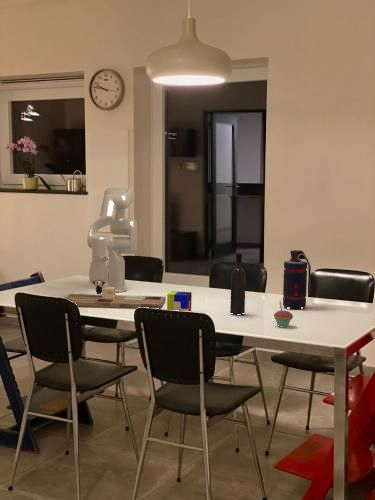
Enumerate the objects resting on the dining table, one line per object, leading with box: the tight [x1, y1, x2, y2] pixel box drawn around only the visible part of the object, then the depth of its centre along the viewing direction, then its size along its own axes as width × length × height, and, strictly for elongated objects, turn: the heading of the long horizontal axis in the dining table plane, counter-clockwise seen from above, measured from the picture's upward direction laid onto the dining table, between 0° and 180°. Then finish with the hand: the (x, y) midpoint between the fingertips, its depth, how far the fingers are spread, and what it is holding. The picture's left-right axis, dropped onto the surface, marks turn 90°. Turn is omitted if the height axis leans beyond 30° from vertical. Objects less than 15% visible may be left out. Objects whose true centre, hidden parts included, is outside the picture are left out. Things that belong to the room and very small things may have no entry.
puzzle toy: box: [166, 290, 192, 312], centre depth 329 cm, size 10×10×10 cm
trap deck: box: [64, 293, 167, 310], centre depth 352 cm, size 24×52×2 cm, turn 86°
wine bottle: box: [229, 252, 247, 314], centre depth 328 cm, size 6×6×30 cm
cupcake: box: [273, 300, 294, 327], centre depth 303 cm, size 9×8×12 cm
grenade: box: [282, 249, 312, 309], centre depth 347 cm, size 14×12×30 cm
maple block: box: [101, 286, 116, 298], centre depth 357 cm, size 6×6×5 cm
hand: (99, 293), depth 358 cm, fingers closed
